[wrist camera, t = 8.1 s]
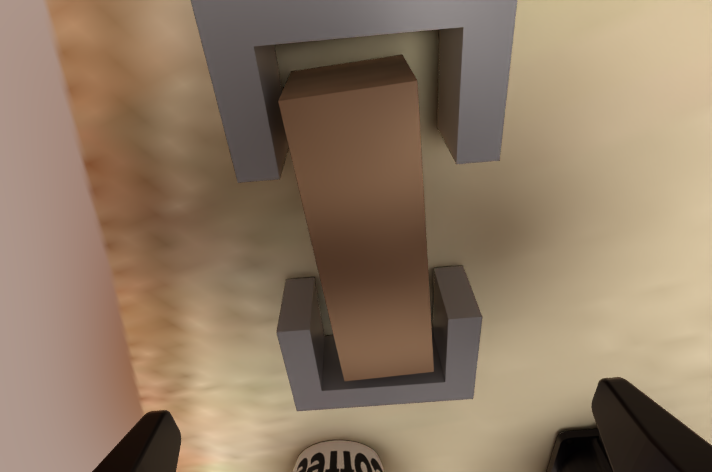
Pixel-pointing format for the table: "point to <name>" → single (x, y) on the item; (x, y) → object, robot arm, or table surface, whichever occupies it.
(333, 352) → the end cap
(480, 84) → the end cap
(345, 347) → the slat
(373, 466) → the cup
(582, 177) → the table surface
